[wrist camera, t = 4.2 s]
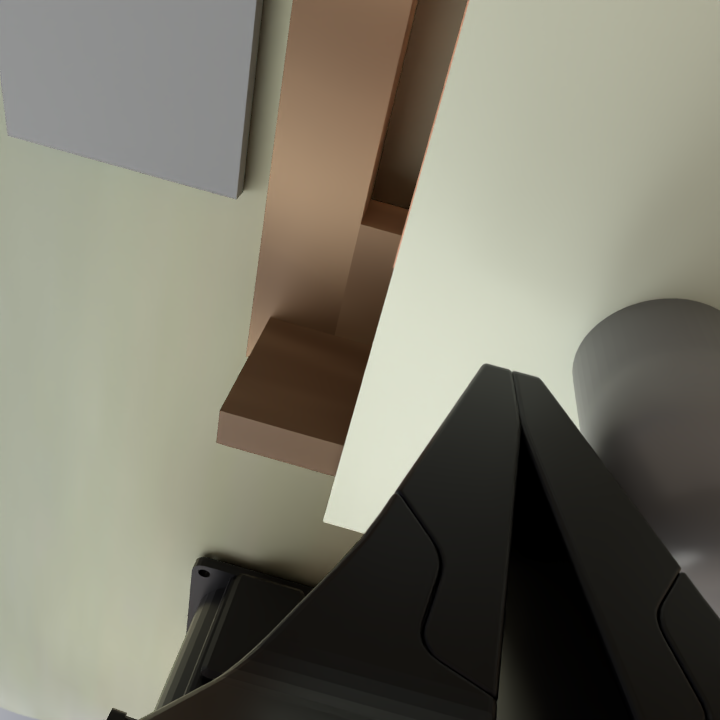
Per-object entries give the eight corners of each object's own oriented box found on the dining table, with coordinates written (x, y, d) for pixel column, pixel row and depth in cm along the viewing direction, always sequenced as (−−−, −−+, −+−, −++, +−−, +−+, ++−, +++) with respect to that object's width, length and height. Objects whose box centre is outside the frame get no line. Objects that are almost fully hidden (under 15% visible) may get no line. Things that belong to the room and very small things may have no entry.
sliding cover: (714, 604, 15) (785, 843, 11) (330, 494, 15) (273, 695, 11) (1285, 32, 7) (2061, 177, 4) (519, -175, 7) (533, -233, 4)
